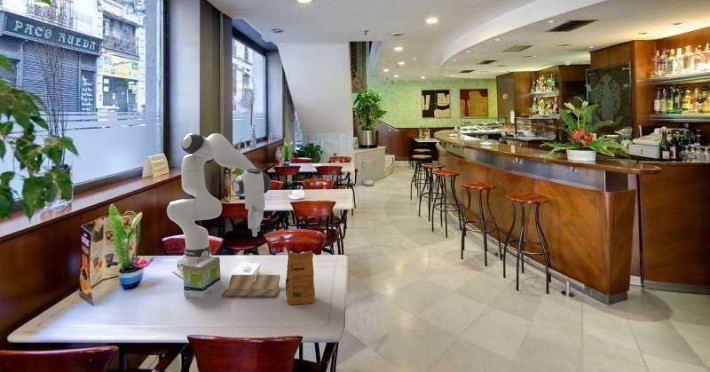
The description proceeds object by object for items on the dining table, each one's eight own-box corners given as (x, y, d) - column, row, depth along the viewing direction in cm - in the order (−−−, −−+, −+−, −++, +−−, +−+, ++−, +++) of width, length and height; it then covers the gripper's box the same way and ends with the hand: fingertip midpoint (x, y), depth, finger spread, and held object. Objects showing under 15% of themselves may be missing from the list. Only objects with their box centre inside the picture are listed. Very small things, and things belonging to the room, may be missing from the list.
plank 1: (228, 290, 194) (227, 288, 193) (232, 276, 200) (231, 274, 199) (251, 290, 194) (251, 289, 193) (255, 276, 200) (254, 274, 199)
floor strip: (221, 297, 186) (220, 295, 186) (226, 291, 193) (226, 288, 193) (274, 297, 185) (274, 295, 185) (278, 291, 192) (278, 289, 192)
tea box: (204, 299, 185) (202, 267, 183) (183, 297, 187) (181, 265, 185) (221, 286, 199) (219, 256, 197) (202, 284, 201) (200, 254, 199)
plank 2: (253, 290, 194) (253, 289, 193) (257, 276, 200) (256, 274, 199) (277, 290, 193) (277, 289, 193) (280, 276, 199) (279, 274, 199)
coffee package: (285, 297, 186) (284, 249, 183) (313, 294, 189) (312, 247, 185) (286, 306, 177) (284, 256, 173) (315, 304, 179) (314, 254, 175)
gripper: (258, 208, 183) (259, 239, 185) (265, 200, 203) (266, 228, 205) (243, 209, 183) (245, 239, 185) (251, 200, 203) (253, 228, 205)
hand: (256, 233), depth 195 cm, fingers open, 7 cm apart
